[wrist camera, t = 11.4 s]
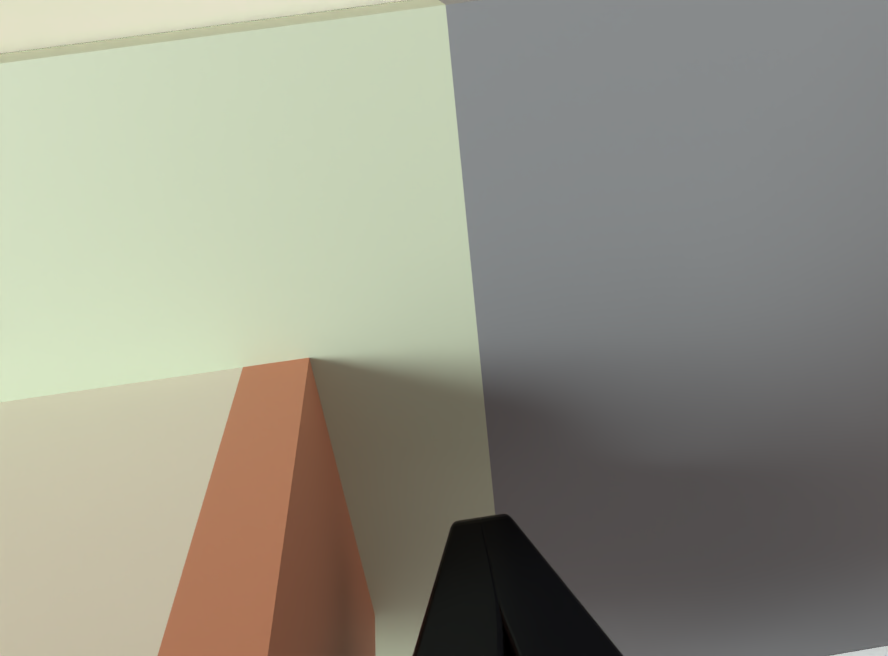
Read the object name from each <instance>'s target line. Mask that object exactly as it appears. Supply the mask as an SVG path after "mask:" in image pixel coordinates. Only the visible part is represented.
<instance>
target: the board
mask: <svg viewBox="0 0 888 656" xmlns="http://www.w3.org/2000/svg"><path fill="white" fill-rule="evenodd" d="M303 358H309V359H310V363H311V367H312V371H313V375H314V378H315V382H316V386H317V390H318V394H319V398H320V402H321V406H322V410H323V414H324V418H325V422H326V425H327V429H328V433H329V437H330V441H331V445H332V449H333V453H334V457H335V461H336V465H337V469H338V472H339V476H340V480H341V484H342V488H343V492H344V496H345V500H346V504H347V508H348V512H349V516H350V519H351V523H352V527H353V531H354V535H355V539H356V543H357V547H358V551H359V555H360V559H361V563H362V566H363V570H364V574H365V578H366V582H367V586H368V590H369V594H370V598H371V602H372V606H373V610H374V614H375V654H376V656H412V655H413V652H414V649H415V645H416V642H417V639H418V635H419V632H420V628H421V625H422V622H423V618H424V615H425V612H426V608H427V605H428V601H429V598H430V595H431V591H432V588H433V584H434V581H435V578H436V574H437V571H438V568H439V564H440V561H441V557H442V554H443V551H444V547H445V544H446V540H447V537H448V534H449V530H450V527H451V525H452V524H453V522H455V521H458V520H464V519H471V518H477V517H484V516H490V515H497V514H508V515H509V516H510V517H511V518H512V519H513V520H514V521H515V522H516V524H517V525H518V526H519V527H520V528H521V530H522V531H523V532H524V533H525V535H526V536H527V537H528V538H529V540H530V541H531V542H532V543H533V545H534V546H535V547H536V548H537V549H538V551H539V552H540V553H541V554H542V556H543V557H544V558H545V559H546V561H547V562H548V563H549V564H550V566H551V567H552V568H553V569H554V570H555V572H556V573H557V574H558V575H559V577H560V578H561V579H562V580H563V582H564V583H565V584H566V585H567V587H568V588H569V589H570V590H571V591H572V593H573V594H574V595H575V596H576V598H577V599H578V600H579V601H580V603H581V604H582V605H583V606H584V608H585V609H586V610H587V611H588V612H589V614H590V615H591V616H592V617H593V619H594V620H595V621H596V622H597V624H598V625H599V626H600V627H601V629H602V630H603V631H604V632H605V633H606V635H607V636H608V637H609V638H610V640H611V641H612V642H613V643H614V645H615V646H616V647H617V648H618V650H619V651H620V652H621V653H622V654H623V656H830V655H835V654H841V653H847V652H853V651H859V650H865V649H871V648H876V647H882V646H888V0H407V1H400V2H392V3H385V4H377V5H369V6H362V7H354V8H346V9H339V10H331V11H324V12H316V13H308V14H301V15H293V16H286V17H278V18H270V19H263V20H255V21H247V22H240V23H232V24H225V25H217V26H209V27H202V28H194V29H186V30H179V31H171V32H164V33H156V34H148V35H141V36H133V37H126V38H118V39H110V40H103V41H95V42H87V43H80V44H72V45H65V46H57V47H49V48H42V49H34V50H27V51H19V52H11V53H4V54H0V402H6V401H13V400H20V399H26V398H33V397H40V396H47V395H54V394H61V393H68V392H75V391H82V390H89V389H96V388H102V387H109V386H116V385H123V384H130V383H137V382H144V381H151V380H158V379H165V378H171V377H178V376H185V375H192V374H199V373H206V372H213V371H220V370H227V369H234V368H240V367H247V366H254V365H261V364H268V363H275V362H282V361H289V360H296V359H303Z"/></svg>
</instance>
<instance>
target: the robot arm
mask: <svg viewBox="0 0 888 656" xmlns="http://www.w3.org/2000/svg"><path fill="white" fill-rule="evenodd" d="M412 656H623V654H622V653H621V652H620V651H619V650H618V648H617V647H616V646H615V645H614V643H613V642H612V641H611V640H610V638H609V637H608V636H607V635H606V633H605V632H604V631H603V630H602V629H601V627H600V626H599V625H598V624H597V622H596V621H595V620H594V619H593V617H592V616H591V615H590V614H589V612H588V611H587V610H586V609H585V608H584V606H583V605H582V604H581V603H580V601H579V600H578V599H577V598H576V596H575V595H574V594H573V593H572V591H571V590H570V589H569V588H568V587H567V585H566V584H565V583H564V582H563V580H562V579H561V578H560V577H559V575H558V574H557V573H556V572H555V570H554V569H553V568H552V567H551V566H550V564H549V563H548V562H547V561H546V559H545V558H544V557H543V556H542V554H541V553H540V552H539V551H538V549H537V548H536V547H535V546H534V545H533V543H532V542H531V541H530V540H529V538H528V537H527V536H526V535H525V533H524V532H523V531H522V530H521V528H520V527H519V526H518V525H517V524H516V522H515V521H514V520H513V519H512V518H511V517H510V516H509V515H508V514H497V515H490V516H484V517H477V518H471V519H464V520H458V521H455V522H453V524H452V525H451V527H450V530H449V534H448V537H447V540H446V544H445V547H444V551H443V554H442V557H441V561H440V564H439V568H438V571H437V574H436V578H435V581H434V584H433V588H432V591H431V595H430V598H429V601H428V605H427V608H426V612H425V615H424V618H423V622H422V625H421V628H420V632H419V635H418V639H417V642H416V645H415V649H414V652H413V655H412Z"/></svg>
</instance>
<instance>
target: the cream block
mask: <svg viewBox="0 0 888 656" xmlns="http://www.w3.org/2000/svg"><path fill="white" fill-rule="evenodd" d="M0 656H376V654H375V614H374V610H373V606H372V602H371V598H370V594H369V590H368V586H367V582H366V578H365V574H364V570H363V566H362V563H361V559H360V555H359V551H358V547H357V543H356V539H355V535H354V531H353V527H352V523H351V519H350V516H349V512H348V508H347V504H346V500H345V496H344V492H343V488H342V484H341V480H340V476H339V472H338V469H337V465H336V461H335V457H334V453H333V449H332V445H331V441H330V437H329V433H328V429H327V425H326V422H325V418H324V414H323V410H322V406H321V402H320V398H319V394H318V390H317V386H316V382H315V378H314V375H313V371H312V367H311V363H310V359H309V358H303V359H296V360H289V361H282V362H275V363H268V364H261V365H254V366H247V367H240V368H234V369H227V370H220V371H213V372H206V373H199V374H192V375H185V376H178V377H171V378H165V379H158V380H151V381H144V382H137V383H130V384H123V385H116V386H109V387H102V388H96V389H89V390H82V391H75V392H68V393H61V394H54V395H47V396H40V397H33V398H26V399H20V400H13V401H6V402H0Z"/></svg>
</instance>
